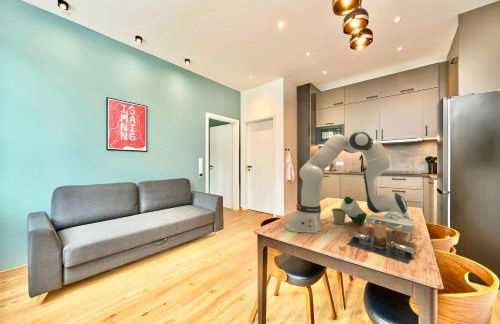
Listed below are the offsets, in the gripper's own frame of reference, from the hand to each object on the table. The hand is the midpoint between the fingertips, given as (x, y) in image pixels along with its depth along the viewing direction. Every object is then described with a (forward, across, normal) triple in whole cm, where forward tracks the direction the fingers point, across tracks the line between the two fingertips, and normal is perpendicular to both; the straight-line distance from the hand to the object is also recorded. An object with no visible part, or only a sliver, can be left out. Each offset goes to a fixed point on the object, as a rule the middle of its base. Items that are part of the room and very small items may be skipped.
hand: (384, 226), depth 96 cm
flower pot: (-17, -31, +9) cm, 36 cm away
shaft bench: (+6, 0, +9) cm, 11 cm away
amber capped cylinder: (+6, 0, +9) cm, 10 cm away
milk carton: (-28, -22, +6) cm, 36 cm away
